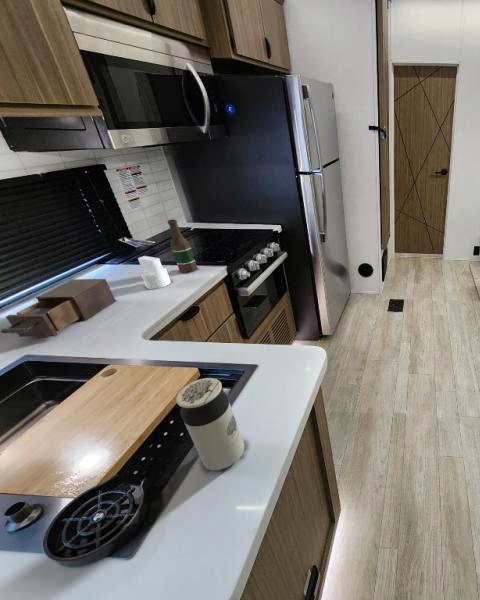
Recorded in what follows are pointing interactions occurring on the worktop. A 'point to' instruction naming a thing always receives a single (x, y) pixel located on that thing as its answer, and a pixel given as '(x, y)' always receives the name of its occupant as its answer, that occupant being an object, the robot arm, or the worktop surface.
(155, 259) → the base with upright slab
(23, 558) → the worktop surface
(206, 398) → the travel mug
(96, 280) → the cabinet
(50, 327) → the drawer
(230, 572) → the worktop surface
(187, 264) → the beer bottle
